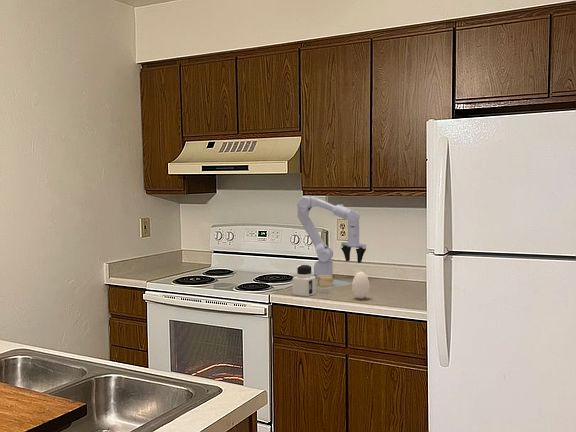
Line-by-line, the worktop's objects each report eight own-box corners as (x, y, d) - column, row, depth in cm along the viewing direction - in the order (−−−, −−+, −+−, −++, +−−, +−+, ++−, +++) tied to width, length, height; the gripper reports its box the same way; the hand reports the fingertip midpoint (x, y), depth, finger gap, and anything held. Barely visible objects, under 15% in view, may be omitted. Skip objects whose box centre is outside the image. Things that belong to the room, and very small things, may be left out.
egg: (359, 296, 266) (359, 269, 265) (373, 298, 261) (373, 271, 260) (348, 298, 261) (348, 271, 260) (362, 301, 256) (361, 273, 255)
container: (316, 293, 273) (316, 265, 272) (306, 296, 266) (306, 267, 265) (301, 291, 277) (301, 263, 276) (292, 294, 271) (292, 265, 270)
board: (304, 287, 288) (304, 285, 288) (335, 281, 302) (335, 279, 302) (324, 291, 277) (324, 289, 277) (356, 285, 291) (356, 283, 291)
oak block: (317, 283, 291) (317, 275, 291) (330, 283, 292) (329, 275, 292) (320, 286, 285) (320, 277, 285) (333, 285, 286) (332, 277, 286)
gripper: (337, 234, 305) (337, 261, 306) (359, 236, 295) (359, 264, 296) (346, 233, 310) (346, 259, 311) (368, 235, 300) (368, 262, 301)
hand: (353, 261), depth 304 cm, fingers open, 7 cm apart
